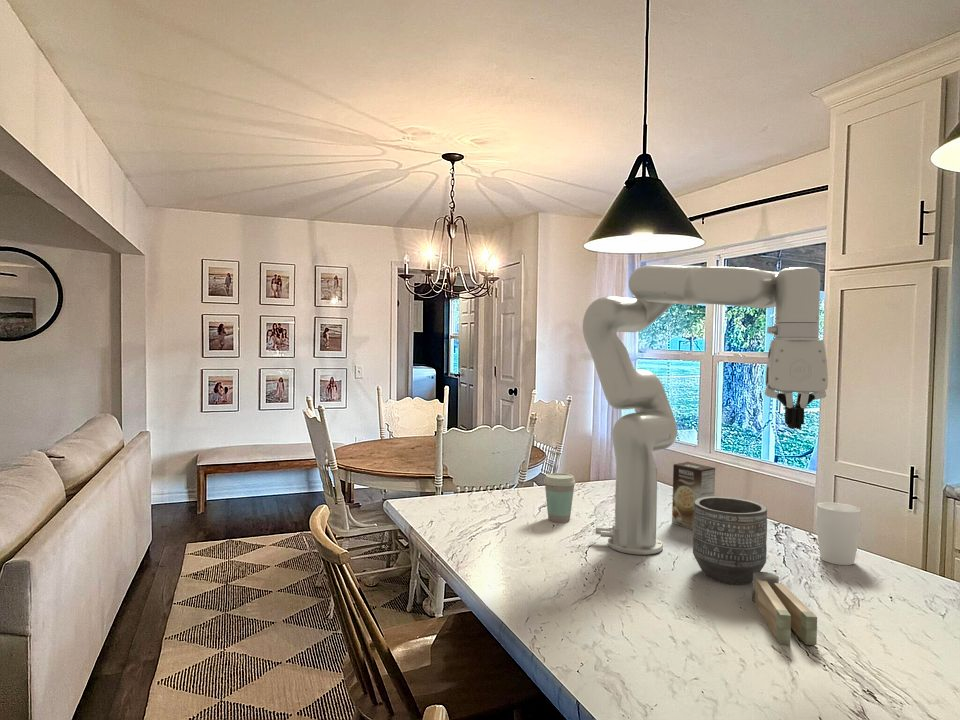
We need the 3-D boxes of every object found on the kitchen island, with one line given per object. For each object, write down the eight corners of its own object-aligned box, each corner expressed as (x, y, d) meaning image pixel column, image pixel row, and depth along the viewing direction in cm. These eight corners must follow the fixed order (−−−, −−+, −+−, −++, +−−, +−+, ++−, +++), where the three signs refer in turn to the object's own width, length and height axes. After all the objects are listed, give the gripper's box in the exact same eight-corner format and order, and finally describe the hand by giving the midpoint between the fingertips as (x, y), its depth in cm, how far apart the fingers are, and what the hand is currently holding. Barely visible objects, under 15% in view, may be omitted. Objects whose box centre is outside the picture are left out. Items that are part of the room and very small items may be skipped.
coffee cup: (579, 518, 173) (580, 474, 172) (566, 526, 166) (567, 480, 165) (551, 513, 177) (552, 471, 177) (537, 520, 170) (538, 476, 170)
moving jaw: (806, 644, 101) (806, 616, 101) (773, 607, 115) (774, 583, 115) (816, 644, 101) (817, 617, 101) (782, 608, 115) (783, 583, 115)
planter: (760, 594, 122) (761, 517, 121) (684, 579, 129) (686, 506, 129) (770, 572, 134) (772, 502, 133) (700, 559, 141) (702, 492, 141)
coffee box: (670, 523, 169) (671, 463, 169) (685, 519, 173) (686, 461, 172) (699, 532, 161) (700, 469, 161) (715, 528, 165) (716, 467, 165)
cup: (867, 569, 136) (868, 513, 136) (821, 565, 138) (823, 511, 137) (851, 555, 145) (853, 503, 145) (808, 552, 147) (810, 501, 146)
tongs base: (778, 644, 102) (779, 613, 101) (749, 596, 120) (750, 570, 120) (807, 646, 101) (808, 615, 101) (774, 598, 120) (775, 572, 119)
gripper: (760, 332, 119) (757, 429, 119) (846, 332, 116) (843, 432, 117) (750, 332, 126) (748, 424, 127) (831, 333, 123) (829, 427, 124)
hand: (794, 427), depth 122 cm, fingers closed
